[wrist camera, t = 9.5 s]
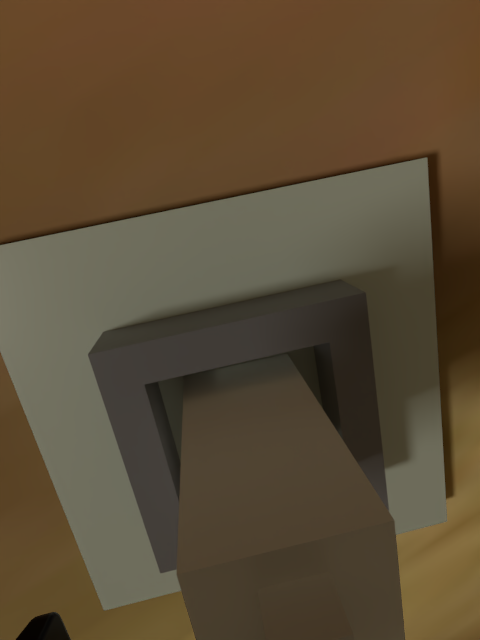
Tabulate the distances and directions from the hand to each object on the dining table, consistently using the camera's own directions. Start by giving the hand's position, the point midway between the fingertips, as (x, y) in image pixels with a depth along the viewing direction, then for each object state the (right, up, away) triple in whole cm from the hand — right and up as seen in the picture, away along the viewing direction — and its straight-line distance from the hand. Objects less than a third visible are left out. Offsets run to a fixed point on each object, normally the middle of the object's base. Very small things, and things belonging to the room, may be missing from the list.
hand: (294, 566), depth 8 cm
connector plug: (-1, +2, +6) cm, 6 cm away
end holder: (-1, +2, +7) cm, 7 cm away
